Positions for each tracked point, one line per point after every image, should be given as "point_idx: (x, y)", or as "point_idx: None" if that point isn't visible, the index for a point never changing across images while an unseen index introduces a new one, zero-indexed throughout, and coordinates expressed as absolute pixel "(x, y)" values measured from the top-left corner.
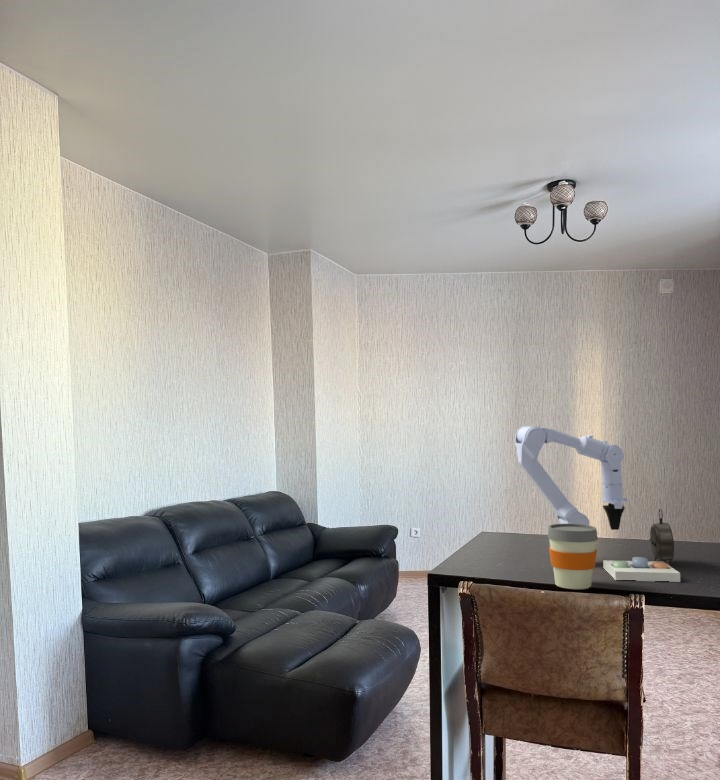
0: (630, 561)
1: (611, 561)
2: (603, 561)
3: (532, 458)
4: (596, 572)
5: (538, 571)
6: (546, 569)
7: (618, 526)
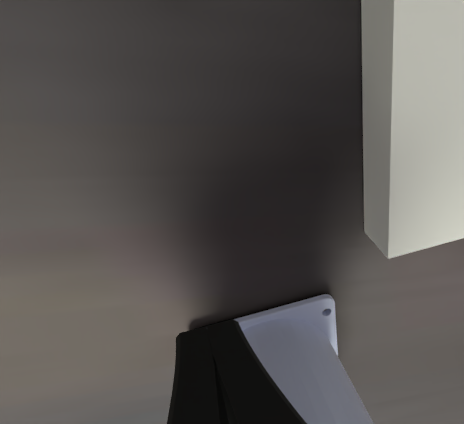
0: (411, 99)
1: (419, 215)
2: (392, 253)
3: None
4: (446, 253)
5: (434, 421)
6: (400, 410)
7: (252, 353)
